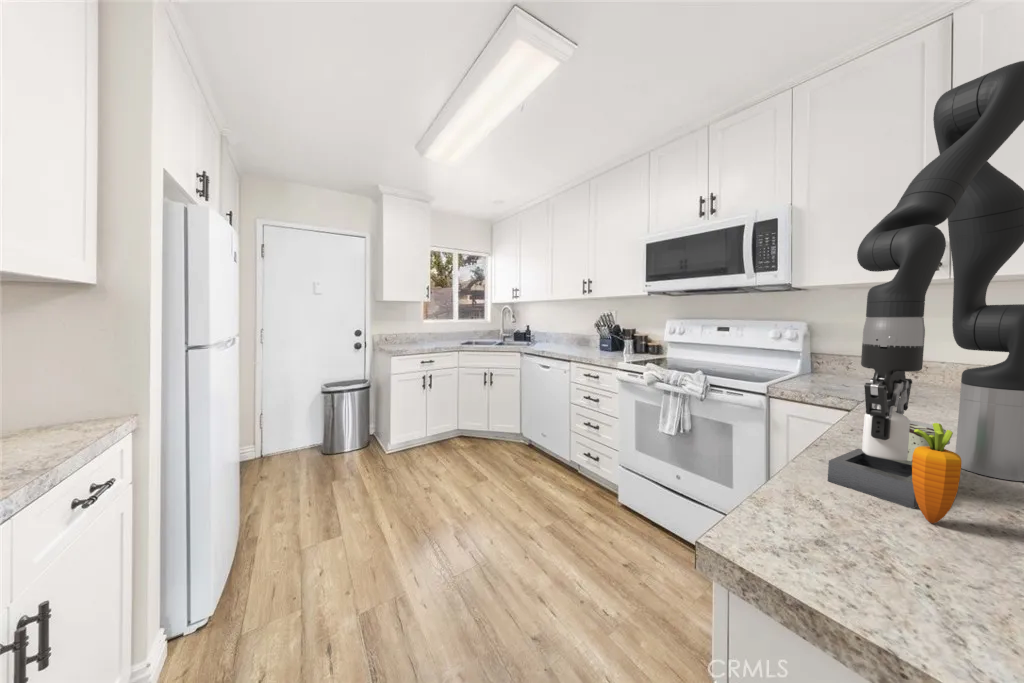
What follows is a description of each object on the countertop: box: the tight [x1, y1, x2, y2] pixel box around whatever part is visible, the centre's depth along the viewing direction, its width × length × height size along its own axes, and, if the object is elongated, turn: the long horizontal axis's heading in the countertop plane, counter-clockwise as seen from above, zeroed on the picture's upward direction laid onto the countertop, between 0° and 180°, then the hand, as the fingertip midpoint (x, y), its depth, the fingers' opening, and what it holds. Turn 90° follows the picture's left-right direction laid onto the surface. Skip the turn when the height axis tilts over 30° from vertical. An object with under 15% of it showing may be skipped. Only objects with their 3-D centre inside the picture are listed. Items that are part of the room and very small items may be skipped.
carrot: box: [912, 422, 962, 525], centre depth 53 cm, size 5×5×15 cm
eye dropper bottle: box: [861, 400, 910, 460], centre depth 64 cm, size 4×6×12 cm
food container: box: [907, 419, 951, 461], centre depth 70 cm, size 12×6×10 cm, turn 179°
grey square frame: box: [827, 448, 919, 510], centre depth 65 cm, size 13×11×4 cm
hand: (885, 435), depth 64 cm, fingers closed on eye dropper bottle, 4 cm apart
